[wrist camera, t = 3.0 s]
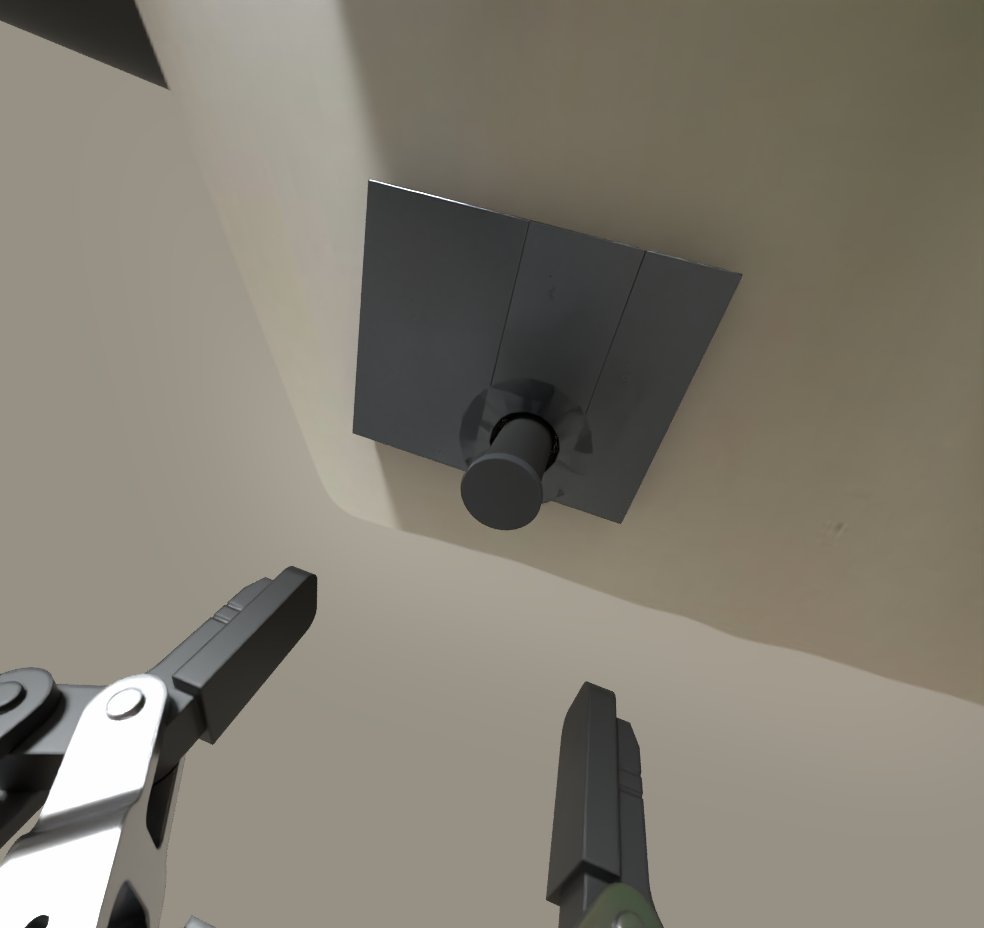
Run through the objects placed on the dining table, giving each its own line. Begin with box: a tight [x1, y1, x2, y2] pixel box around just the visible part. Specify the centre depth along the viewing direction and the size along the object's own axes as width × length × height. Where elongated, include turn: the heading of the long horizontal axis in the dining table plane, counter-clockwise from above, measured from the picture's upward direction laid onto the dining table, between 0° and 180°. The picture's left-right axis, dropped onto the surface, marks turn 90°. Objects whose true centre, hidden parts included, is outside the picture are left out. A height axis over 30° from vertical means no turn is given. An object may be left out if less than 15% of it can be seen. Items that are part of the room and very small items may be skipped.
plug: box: [461, 412, 555, 530], centre depth 22 cm, size 4×4×8 cm
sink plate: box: [353, 179, 742, 524], centre depth 23 cm, size 18×15×2 cm
